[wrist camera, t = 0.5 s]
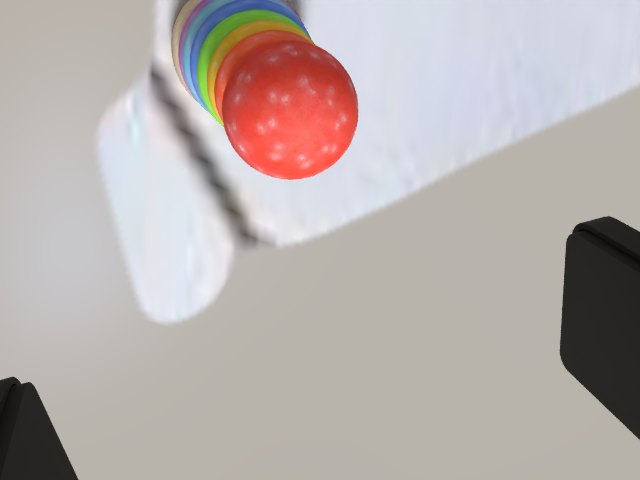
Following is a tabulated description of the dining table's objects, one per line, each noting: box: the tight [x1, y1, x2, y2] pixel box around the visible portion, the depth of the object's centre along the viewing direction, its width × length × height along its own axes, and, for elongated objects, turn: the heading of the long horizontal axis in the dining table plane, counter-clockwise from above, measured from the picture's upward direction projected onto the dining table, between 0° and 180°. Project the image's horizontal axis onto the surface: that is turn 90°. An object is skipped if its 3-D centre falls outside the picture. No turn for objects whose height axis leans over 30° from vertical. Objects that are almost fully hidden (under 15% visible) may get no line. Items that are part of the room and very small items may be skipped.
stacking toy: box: [171, 0, 358, 180], centre depth 28 cm, size 8×8×19 cm
